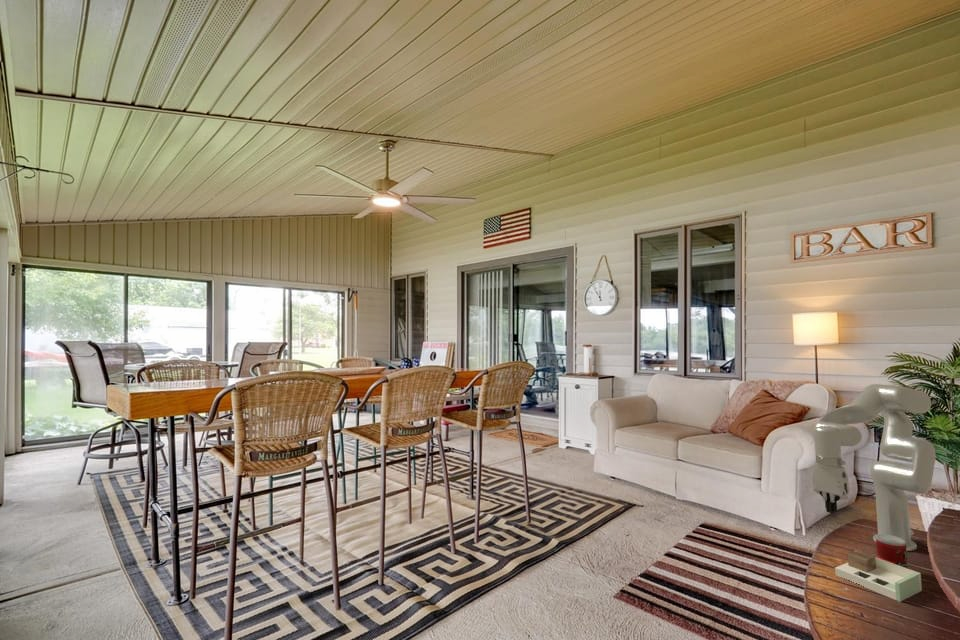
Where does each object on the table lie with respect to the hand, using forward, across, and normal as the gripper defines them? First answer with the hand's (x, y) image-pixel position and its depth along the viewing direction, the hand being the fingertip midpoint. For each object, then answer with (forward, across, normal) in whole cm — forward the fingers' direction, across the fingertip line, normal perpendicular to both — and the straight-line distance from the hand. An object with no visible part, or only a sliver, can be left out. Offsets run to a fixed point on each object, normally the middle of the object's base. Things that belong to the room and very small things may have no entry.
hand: (831, 511), depth 167 cm
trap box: (+18, -14, +1) cm, 23 cm away
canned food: (+19, -12, -12) cm, 25 cm away
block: (+16, -8, 0) cm, 18 cm away
